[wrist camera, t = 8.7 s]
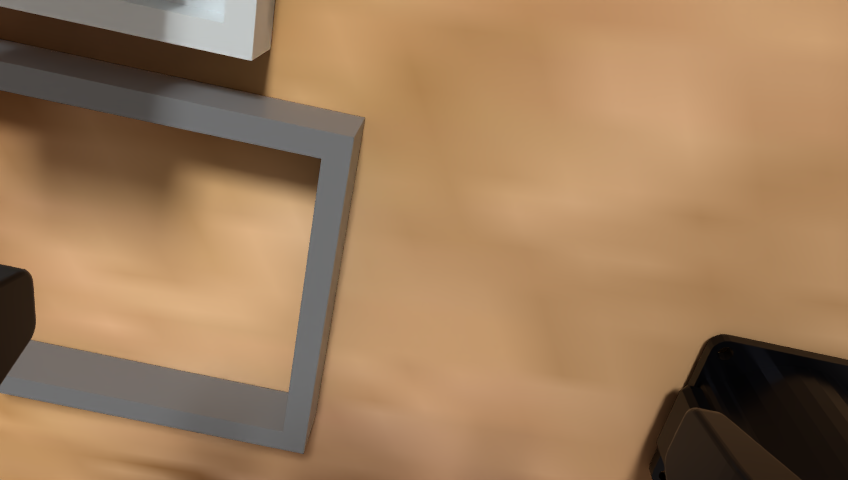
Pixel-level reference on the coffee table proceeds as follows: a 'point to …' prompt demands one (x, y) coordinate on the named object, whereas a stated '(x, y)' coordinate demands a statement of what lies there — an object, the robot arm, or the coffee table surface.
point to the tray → (172, 21)
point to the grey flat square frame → (338, 150)
